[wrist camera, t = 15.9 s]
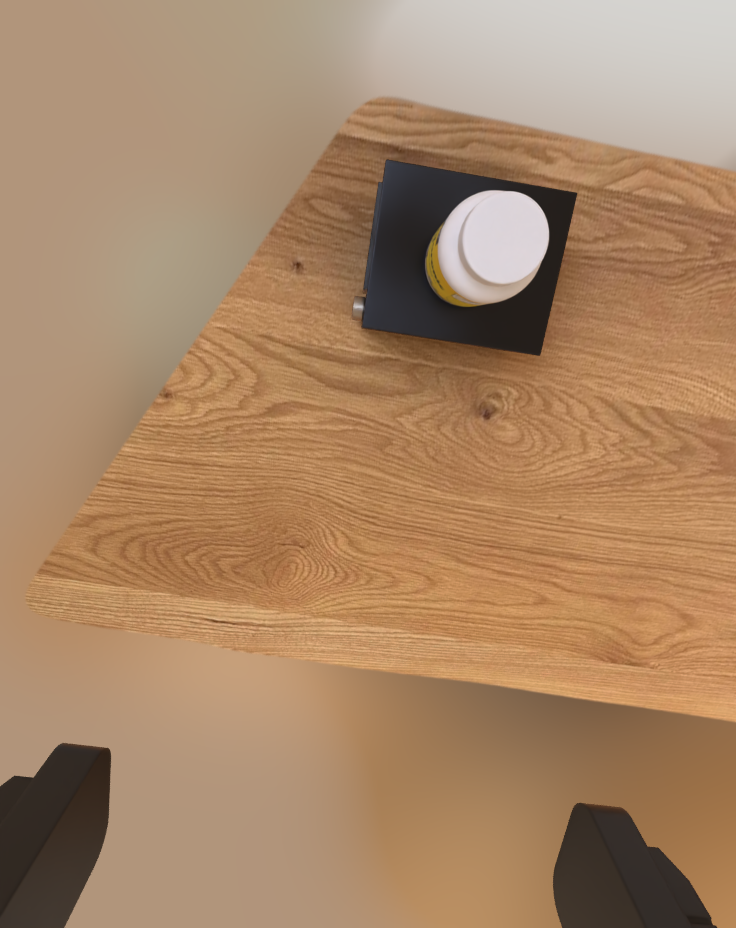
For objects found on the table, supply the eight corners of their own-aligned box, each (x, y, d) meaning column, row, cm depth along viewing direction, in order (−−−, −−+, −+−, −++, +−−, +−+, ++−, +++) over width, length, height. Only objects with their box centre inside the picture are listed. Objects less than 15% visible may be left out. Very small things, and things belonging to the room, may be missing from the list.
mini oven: (351, 326, 42) (349, 325, 34) (370, 190, 40) (372, 156, 32) (507, 351, 43) (540, 355, 35) (535, 218, 40) (577, 192, 32)
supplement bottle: (431, 210, 33) (461, 161, 23) (516, 225, 33) (580, 183, 23) (416, 300, 34) (438, 289, 24) (498, 314, 34) (551, 308, 25)
